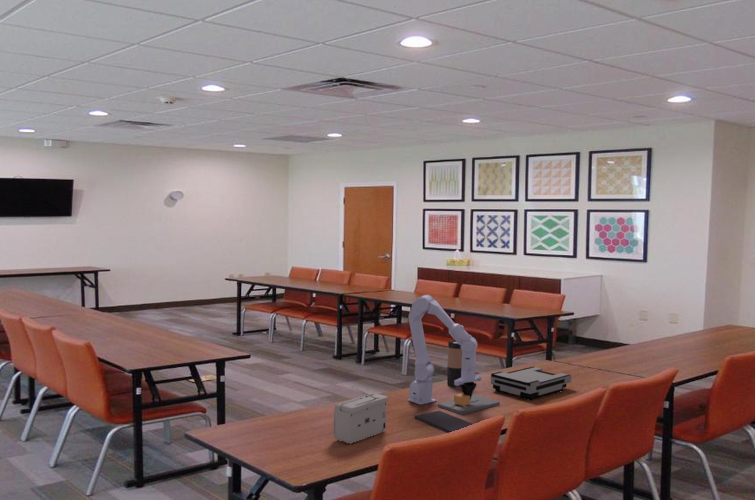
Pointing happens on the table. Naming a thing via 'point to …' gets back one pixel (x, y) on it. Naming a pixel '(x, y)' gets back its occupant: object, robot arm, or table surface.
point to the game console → (529, 382)
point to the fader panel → (474, 405)
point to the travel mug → (454, 363)
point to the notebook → (442, 421)
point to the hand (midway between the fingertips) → (467, 400)
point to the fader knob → (461, 399)
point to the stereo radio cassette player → (360, 417)
